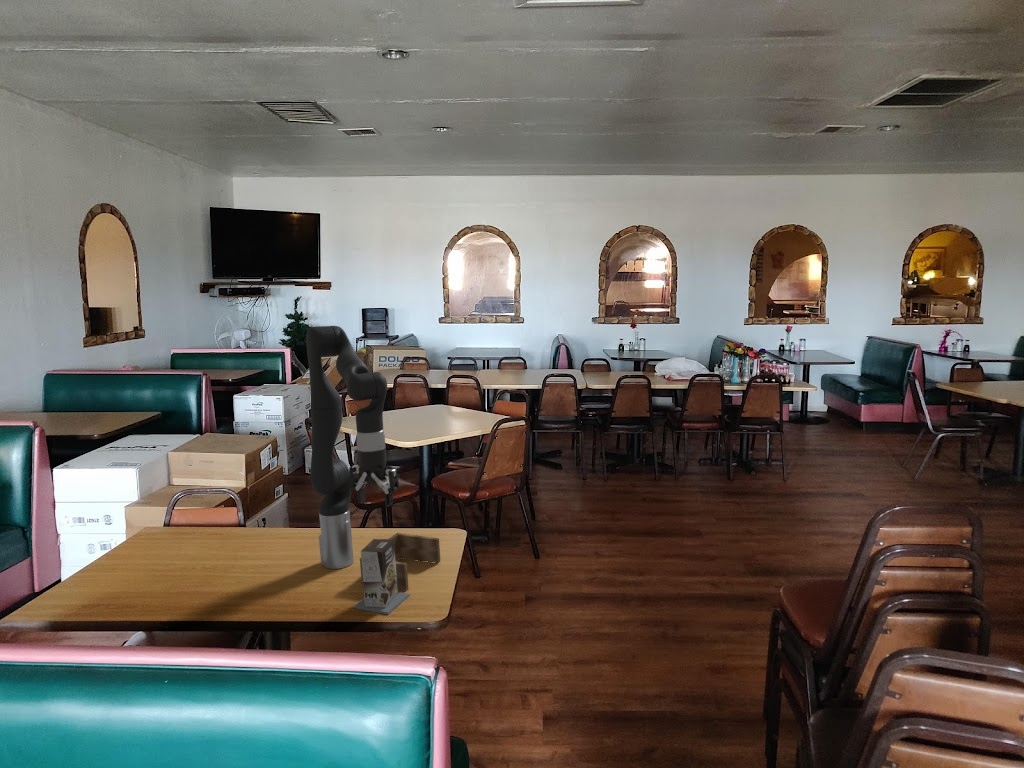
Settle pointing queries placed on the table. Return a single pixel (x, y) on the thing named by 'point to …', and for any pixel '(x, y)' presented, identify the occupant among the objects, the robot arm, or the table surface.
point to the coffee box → (379, 572)
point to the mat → (389, 608)
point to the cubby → (412, 554)
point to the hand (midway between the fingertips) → (375, 504)
